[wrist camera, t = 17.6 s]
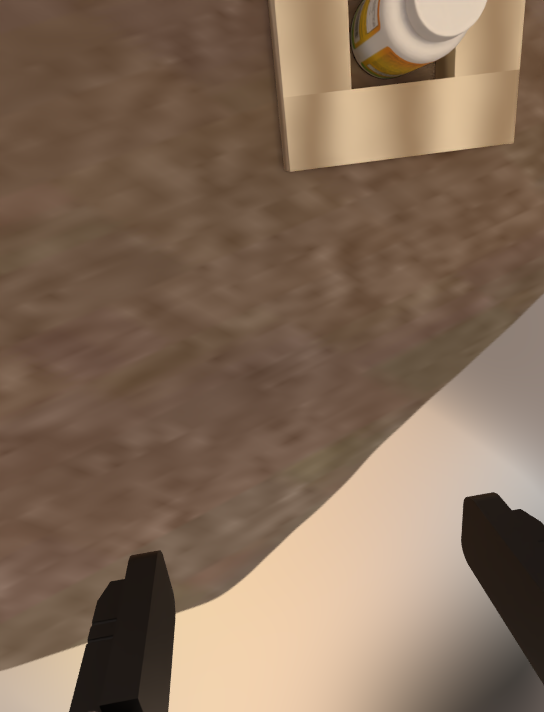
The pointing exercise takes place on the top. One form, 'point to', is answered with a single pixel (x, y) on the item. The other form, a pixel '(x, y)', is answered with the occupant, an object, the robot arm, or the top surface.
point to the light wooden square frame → (390, 90)
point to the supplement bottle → (409, 32)
